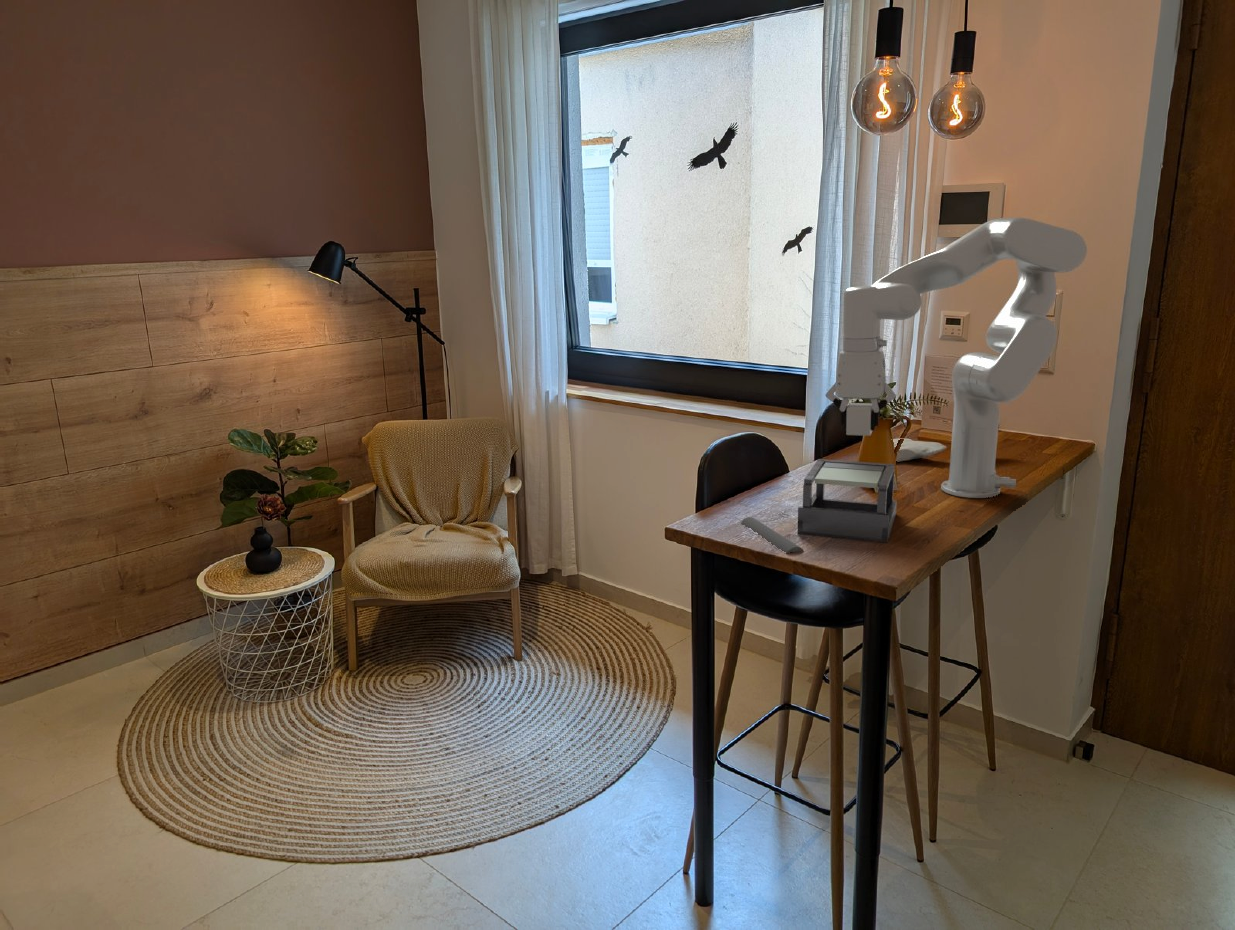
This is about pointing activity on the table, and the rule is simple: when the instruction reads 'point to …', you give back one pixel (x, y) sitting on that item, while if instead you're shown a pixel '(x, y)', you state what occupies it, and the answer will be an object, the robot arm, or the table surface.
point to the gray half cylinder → (771, 535)
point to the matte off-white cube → (859, 419)
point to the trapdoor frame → (848, 509)
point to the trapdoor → (850, 475)
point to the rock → (916, 449)
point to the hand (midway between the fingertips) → (859, 427)
